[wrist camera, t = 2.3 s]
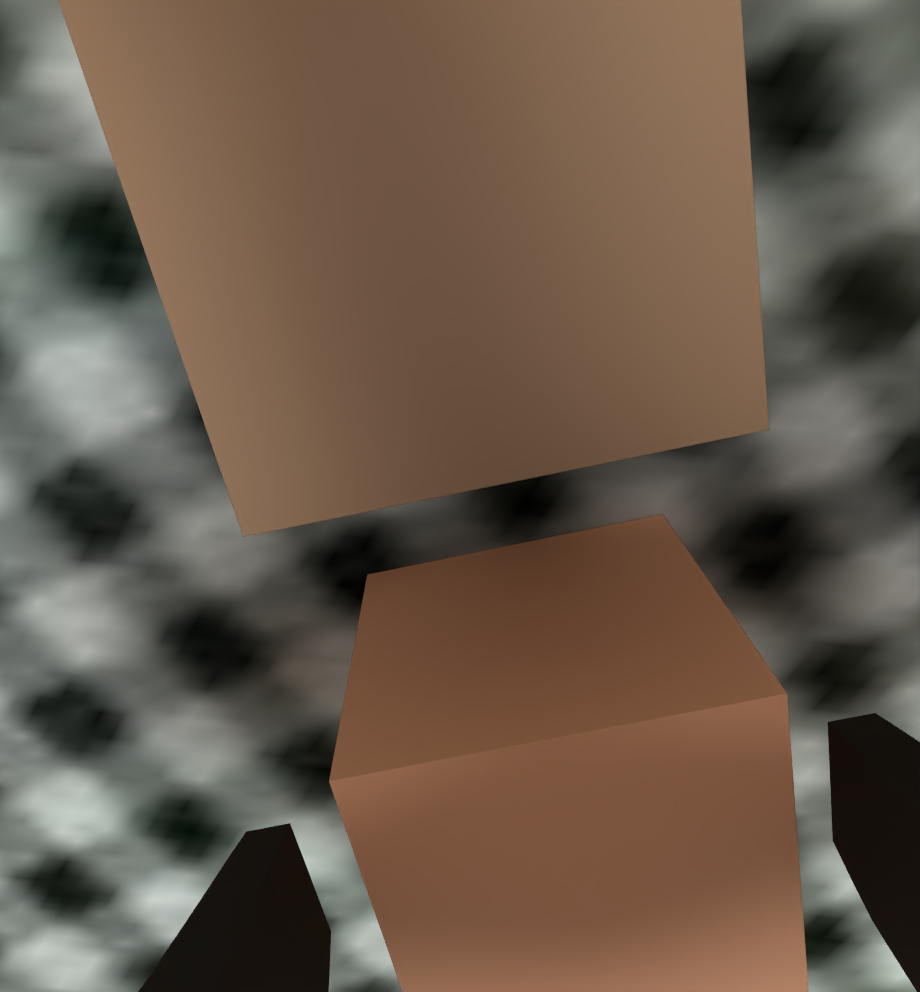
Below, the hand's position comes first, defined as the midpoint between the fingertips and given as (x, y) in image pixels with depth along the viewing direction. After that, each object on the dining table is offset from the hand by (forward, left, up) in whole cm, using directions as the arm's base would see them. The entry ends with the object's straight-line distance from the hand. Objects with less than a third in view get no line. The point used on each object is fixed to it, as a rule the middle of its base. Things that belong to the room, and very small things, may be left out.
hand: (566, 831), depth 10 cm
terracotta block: (0, 0, -4) cm, 4 cm away
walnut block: (0, -8, -4) cm, 9 cm away
